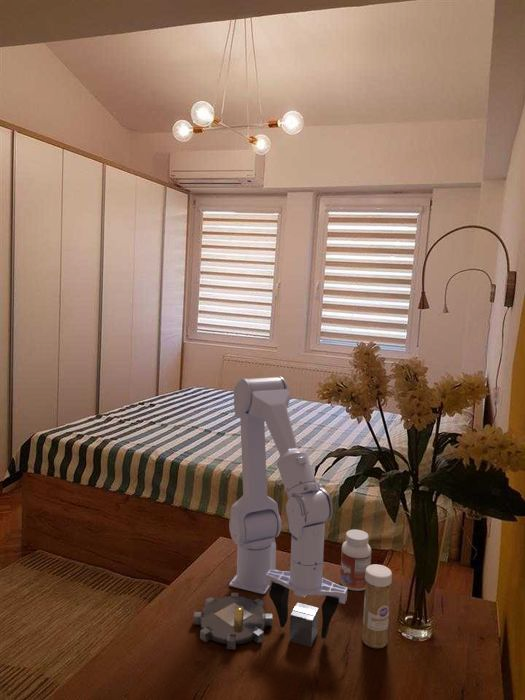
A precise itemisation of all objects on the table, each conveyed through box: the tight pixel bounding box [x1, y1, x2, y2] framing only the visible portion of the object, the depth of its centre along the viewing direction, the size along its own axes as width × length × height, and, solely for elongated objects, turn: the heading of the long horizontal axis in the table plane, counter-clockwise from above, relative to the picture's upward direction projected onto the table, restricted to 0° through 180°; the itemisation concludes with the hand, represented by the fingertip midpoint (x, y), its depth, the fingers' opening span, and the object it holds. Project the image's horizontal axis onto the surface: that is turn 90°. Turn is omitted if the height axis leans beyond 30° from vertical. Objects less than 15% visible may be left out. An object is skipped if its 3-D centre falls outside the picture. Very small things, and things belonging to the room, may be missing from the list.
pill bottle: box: [339, 529, 372, 592], centre depth 112 cm, size 6×6×11 cm
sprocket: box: [193, 592, 273, 650], centre depth 97 cm, size 14×14×6 cm
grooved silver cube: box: [289, 602, 319, 648], centre depth 94 cm, size 4×4×5 cm
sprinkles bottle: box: [361, 563, 393, 649], centre depth 93 cm, size 5×5×13 cm
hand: (303, 629), depth 94 cm, fingers open, 7 cm apart
